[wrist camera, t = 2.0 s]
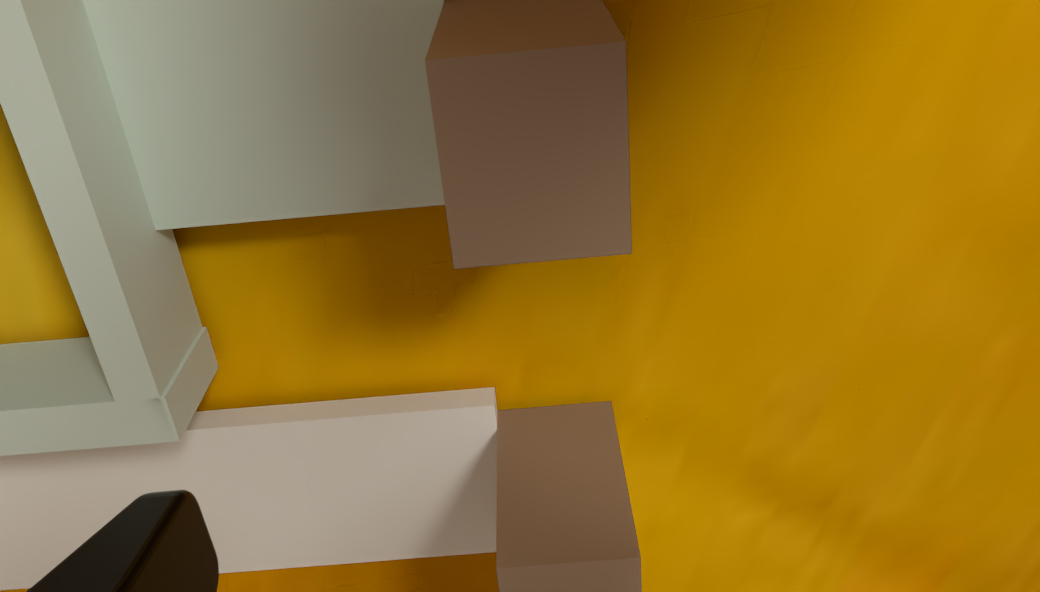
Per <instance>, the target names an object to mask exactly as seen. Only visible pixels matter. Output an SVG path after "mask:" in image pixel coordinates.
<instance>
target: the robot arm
mask: <svg viewBox="0 0 1040 592" xmlns="http://www.w3.org/2000/svg"><path fill="white" fill-rule="evenodd" d="M218 577H219V567H218V559H217V554H216V551H215V548H214V545H213V543H212V540H211V537H210V534H209V531H208V529H207V526H206V523H205V520H204V518H203V515H202V512H201V509H200V506H199V504H198V502H197V500H196V498H195V496H194V495H193V494H192V493H191V492H189V491H186V490H174V491H163V492H151V493H147V494H143V495H141V496H139V497H138V498H137V499H135V500H134V501H133V502H132V503H130V504H129V505H128V506H127V507H126V508H124V509H123V510H122V511H121V512H120V513H119V514H117V515H116V516H115V517H114V518H113V519H112V520H110V521H109V522H108V523H107V524H106V525H104V526H103V527H102V528H101V529H100V530H99V531H97V532H96V533H95V534H94V535H93V536H91V537H90V538H89V539H88V540H87V541H86V542H84V543H83V544H82V545H81V546H80V547H78V548H77V549H76V550H75V551H74V552H73V553H71V554H70V555H69V556H68V557H67V558H65V559H64V560H63V561H62V562H61V563H60V564H58V565H57V566H56V567H55V568H54V569H52V570H51V571H50V572H49V573H48V574H47V575H45V576H44V577H43V578H42V579H41V580H39V581H38V582H37V583H36V584H35V585H34V586H32V587H31V588H30V589H29V590H28V591H26V592H217V586H218Z"/></svg>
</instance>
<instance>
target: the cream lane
mask: <svg viewBox="0 0 1040 592" xmlns="http://www.w3.org/2000/svg"><path fill="white" fill-rule="evenodd" d="M174 490H186V491H189V492H191V493H192V494H193V495H194V496H195V498H196V500H197V502H198V504H199V506H200V509H201V512H202V515H203V518H204V520H205V523H206V526H207V529H208V531H209V534H210V537H211V540H212V543H213V545H214V548H215V551H216V554H217V559H218V567H219V573H232V572H245V571H258V570H271V569H284V568H297V567H310V566H323V565H336V564H348V563H361V562H374V561H387V560H400V559H413V558H426V557H439V556H452V555H465V554H478V553H491V552H496V572H497V579H498V586H499V592H642V590H641V557H640V551H639V546H638V541H637V536H636V530H635V525H634V520H633V514H632V509H631V504H630V499H629V493H628V488H627V483H626V477H625V472H624V467H623V462H622V456H621V451H620V446H619V440H618V435H617V430H616V424H615V419H614V414H613V409H612V403H611V401H607V402H595V403H583V404H570V405H558V406H546V407H534V408H521V409H509V410H497V403H496V395H495V387H489V388H477V389H465V390H453V391H441V392H428V393H416V394H404V395H392V396H380V397H368V398H356V399H343V400H331V401H319V402H307V403H295V404H283V405H271V406H258V407H246V408H234V409H222V410H210V411H198V412H195V414H194V416H193V418H192V419H191V421H190V423H189V425H188V427H187V429H186V431H185V433H184V435H183V437H182V439H181V441H179V442H166V443H154V444H142V445H130V446H117V447H105V448H93V449H81V450H68V451H56V452H44V453H31V454H19V455H7V456H0V590H12V589H25V588H31V587H32V586H34V585H35V584H36V583H37V582H38V581H39V580H41V579H42V578H43V577H44V576H45V575H47V574H48V573H49V572H50V571H51V570H52V569H54V568H55V567H56V566H57V565H58V564H60V563H61V562H62V561H63V560H64V559H65V558H67V557H68V556H69V555H70V554H71V553H73V552H74V551H75V550H76V549H77V548H78V547H80V546H81V545H82V544H83V543H84V542H86V541H87V540H88V539H89V538H90V537H91V536H93V535H94V534H95V533H96V532H97V531H99V530H100V529H101V528H102V527H103V526H104V525H106V524H107V523H108V522H109V521H110V520H112V519H113V518H114V517H115V516H116V515H117V514H119V513H120V512H121V511H122V510H123V509H124V508H126V507H127V506H128V505H129V504H130V503H132V502H133V501H134V500H135V499H137V498H138V497H139V496H141V495H143V494H147V493H151V492H163V491H174Z"/></svg>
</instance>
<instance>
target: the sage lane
mask: <svg viewBox="0 0 1040 592" xmlns="http://www.w3.org/2000/svg"><path fill="white" fill-rule="evenodd" d="M0 104H1V106H2V109H3V111H4V114H5V117H6V119H7V122H8V124H9V127H10V130H11V132H12V135H13V138H14V140H15V143H16V145H17V148H18V151H19V153H20V156H21V158H22V161H23V164H24V166H25V169H26V171H27V174H28V177H29V179H30V182H31V184H32V187H33V190H34V192H35V195H36V197H37V200H38V203H39V205H40V208H41V210H42V213H43V216H44V218H45V221H46V224H47V226H48V229H49V231H50V234H51V237H52V239H53V242H54V244H55V247H56V250H57V252H58V255H59V257H60V260H61V263H62V265H63V268H64V270H65V273H66V276H67V278H68V281H69V283H70V286H71V289H72V291H73V294H74V296H75V299H76V302H77V304H78V307H79V309H80V312H81V315H82V317H83V320H84V323H85V325H86V328H87V330H88V333H89V336H90V337H81V338H70V339H58V340H46V341H34V342H22V343H11V344H0V456H7V455H19V454H31V453H44V452H56V451H68V450H81V449H93V448H105V447H117V446H130V445H142V444H154V443H166V442H179V441H181V439H182V437H183V435H184V433H185V431H186V429H187V427H188V425H189V423H190V421H191V419H192V418H193V416H194V414H195V412H196V410H197V408H198V406H199V404H200V402H201V400H202V398H203V397H204V395H205V393H206V391H207V389H208V387H209V385H210V383H211V381H212V379H213V377H214V376H215V374H216V372H217V370H218V368H219V366H218V363H217V360H216V356H215V353H214V350H213V347H212V343H211V340H210V337H209V333H208V330H207V327H202V324H201V321H200V317H199V314H198V311H197V308H196V305H195V301H194V298H193V295H192V292H191V288H190V285H189V282H188V279H187V275H186V272H185V269H184V266H183V262H182V259H181V256H180V253H179V249H178V246H177V243H176V240H175V236H174V233H173V230H172V229H176V228H188V227H199V226H210V225H222V224H233V223H244V222H256V221H267V220H279V219H290V218H301V217H313V216H324V215H335V214H347V213H358V212H369V211H381V210H392V209H404V208H415V207H426V206H438V205H445V209H446V216H447V223H448V230H449V238H450V245H451V252H452V259H453V266H454V269H459V268H470V267H482V266H494V265H505V264H517V263H528V262H540V261H552V260H563V259H575V258H587V257H598V256H610V255H621V254H632V242H631V205H630V168H629V132H628V95H627V58H626V41H625V39H624V37H623V35H622V34H621V32H620V30H619V28H618V27H617V25H616V23H615V21H614V20H613V18H612V16H611V14H610V13H609V11H608V9H607V7H606V6H605V4H604V2H603V0H0Z"/></svg>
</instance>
